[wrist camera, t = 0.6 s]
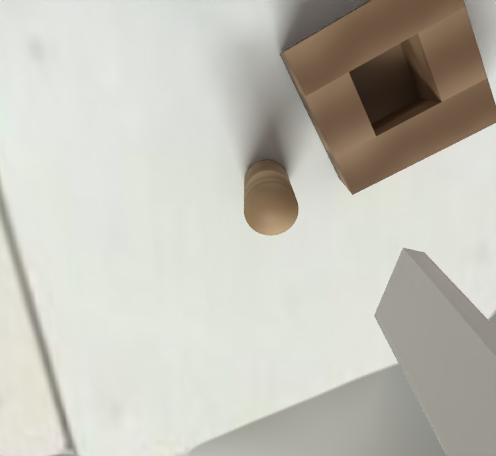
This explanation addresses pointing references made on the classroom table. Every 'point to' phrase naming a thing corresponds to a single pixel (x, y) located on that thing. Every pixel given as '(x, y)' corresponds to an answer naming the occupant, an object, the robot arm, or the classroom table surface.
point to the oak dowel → (269, 198)
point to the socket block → (392, 85)
